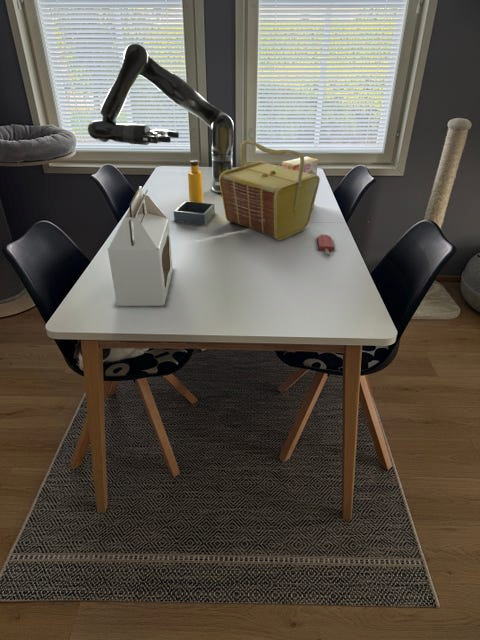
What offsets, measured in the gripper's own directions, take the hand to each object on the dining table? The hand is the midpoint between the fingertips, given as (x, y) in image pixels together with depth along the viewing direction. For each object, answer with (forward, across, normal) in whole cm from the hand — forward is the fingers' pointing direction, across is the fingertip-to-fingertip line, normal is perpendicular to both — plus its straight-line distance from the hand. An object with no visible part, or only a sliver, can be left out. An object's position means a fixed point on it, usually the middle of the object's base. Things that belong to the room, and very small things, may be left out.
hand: (174, 137), depth 177 cm
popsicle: (+65, -24, +28) cm, 75 cm away
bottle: (+8, 0, +28) cm, 29 cm away
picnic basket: (+41, -11, +28) cm, 51 cm away
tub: (+11, -12, +28) cm, 32 cm away
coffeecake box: (+48, +14, +28) cm, 58 cm away
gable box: (+17, -68, +28) cm, 75 cm away
